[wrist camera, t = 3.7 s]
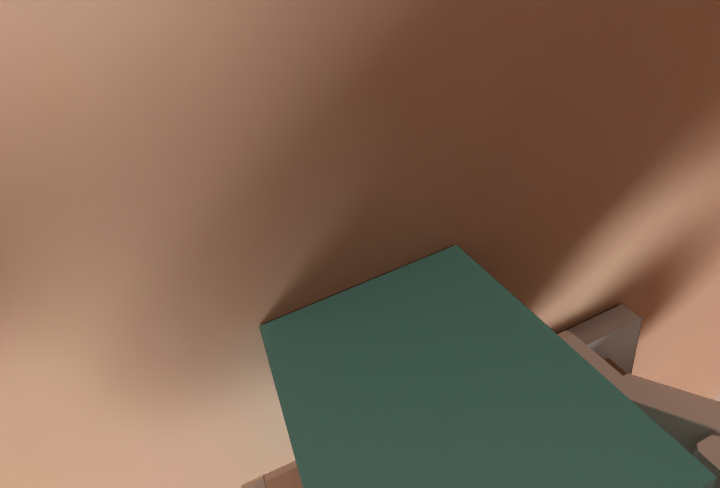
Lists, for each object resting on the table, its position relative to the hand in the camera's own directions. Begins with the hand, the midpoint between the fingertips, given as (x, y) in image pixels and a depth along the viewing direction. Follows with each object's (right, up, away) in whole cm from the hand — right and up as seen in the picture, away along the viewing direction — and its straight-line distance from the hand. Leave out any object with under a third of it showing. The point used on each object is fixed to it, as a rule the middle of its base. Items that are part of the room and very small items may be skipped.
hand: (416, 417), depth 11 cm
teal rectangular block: (-1, +1, +2) cm, 2 cm away
